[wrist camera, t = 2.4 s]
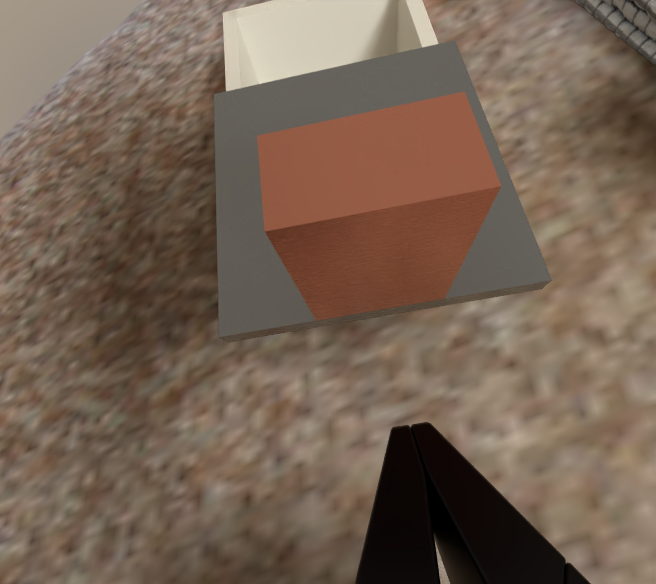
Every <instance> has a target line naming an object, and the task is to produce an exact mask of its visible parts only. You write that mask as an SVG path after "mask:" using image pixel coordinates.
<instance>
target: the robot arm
mask: <svg viewBox="0 0 656 584" xmlns="http://www.w3.org/2000/svg"><path fill="white" fill-rule="evenodd" d="M434 538H435V539H434ZM435 541H436V544H437V547H438V550H439V553H440V556H441V559H442V561H443V564H444V567H445V570H446V573H447V576H448V578H449V581H450V584H590V583H589V581H588V580H587V579H586V578H585V577H584V576H583V575H582V574H581V573H580V572H579V571H578V570H577V569H576V568H575V567H574V566H573V565H572V564H571V563H566V560H565V558H564V557H563V556H562V555H561V554H560V553H559V552H558V551H557V550H556V549H555V548H554V547H553V546H552V545H551V544H550V543H549V542H548V541H547V540H546V539H545V538H544V537H543V536H542V535H541V534H540V533H539V532H538V531H537V530H536V529H535V528H534V527H533V526H532V525H531V524H530V523H529V522H528V521H527V520H526V519H525V518H524V517H523V516H522V515H521V514H520V513H519V512H518V511H517V510H516V509H515V508H514V507H513V506H512V505H511V504H510V503H509V502H508V501H507V499H506V498H505V497H504V496H503V495H502V494H501V493H500V492H499V491H498V490H497V489H496V488H495V487H494V486H493V485H492V484H491V483H490V482H489V481H488V480H487V479H486V478H485V477H484V476H483V475H482V474H481V473H480V472H479V471H478V470H477V469H476V468H475V467H474V466H473V465H472V464H471V463H470V462H469V461H468V460H467V459H466V458H465V457H464V456H463V455H462V454H461V453H460V452H459V451H458V450H457V449H456V448H455V447H454V446H453V445H452V444H451V443H450V442H449V441H448V440H447V439H446V438H445V437H444V436H443V435H442V434H441V433H440V432H439V431H438V430H437V429H436V428H435V427H434V426H433V425H432V424H430V423H428V422H424V423H418V424H413V425H412V426H411V427H410V426H409V425H404V426H397V427H393V428H392V429H391V432H390V436H389V440H388V445H387V449H386V453H385V457H384V462H383V466H382V470H381V474H380V479H379V483H378V487H377V491H376V496H375V500H374V504H373V508H372V513H371V517H370V521H369V526H368V530H367V534H366V538H365V543H364V547H363V551H362V555H361V560H360V564H359V568H358V572H357V577H356V581H355V584H440V577H439V569H438V562H437V554H436V547H435Z"/></svg>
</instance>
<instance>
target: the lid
mask: <svg viewBox="0 0 656 584" xmlns="http://www.w3.org/2000/svg"><path fill="white" fill-rule="evenodd" d="M214 130H215V177H216V223H217V270H218V317H219V338H221V339H223V340H225V341H226V342H232V341H238V340H244V339H250V338H256V337H262V336H268V335H274V334H280V333H286V332H291V331H297V330H303V329H309V328H315V327H321V326H327V325H333V324H339V323H345V322H351V321H356V320H362V319H368V318H374V317H380V316H386V315H392V314H398V313H404V312H410V311H415V310H421V309H427V308H433V307H439V306H445V305H451V304H457V303H463V302H469V301H474V300H480V299H486V298H492V297H498V296H504V295H510V294H516V293H522V292H528V291H533V290H539V289H542V288H544V287H545V286H546V285H547V284H548V283H549V282H551V281H552V279H551V277H550V274H549V272H548V269H547V267H546V264H545V262H544V259H543V257H542V254H541V252H540V249H539V247H538V245H537V242H536V240H535V237H534V235H533V232H532V230H531V227H530V225H529V222H528V220H527V217H526V215H525V212H524V210H523V207H522V205H521V203H520V200H519V198H518V195H517V193H516V190H515V188H514V185H513V183H512V180H511V178H510V175H509V173H508V170H507V168H506V165H505V163H504V161H503V158H502V156H501V153H500V151H499V148H498V146H497V143H496V141H495V138H494V136H493V133H492V131H491V128H490V126H489V123H488V121H487V119H486V116H485V114H484V111H483V109H482V106H481V104H480V101H479V99H478V96H477V94H476V91H475V89H474V86H473V84H472V82H471V79H470V77H469V74H468V72H467V69H466V67H465V64H464V62H463V59H462V57H461V54H460V52H459V49H458V47H457V44H456V42H455V40H454V41H449V42H445V43H440V44H436V45H431V46H427V47H422V48H418V49H413V50H409V51H404V52H400V53H395V54H391V55H387V56H382V57H378V58H373V59H369V60H364V61H360V62H355V63H351V64H346V65H342V66H337V67H333V68H328V69H324V70H320V71H315V72H311V73H306V74H302V75H297V76H293V77H288V78H284V79H279V80H275V81H270V82H266V83H261V84H257V85H252V86H248V87H244V88H239V89H235V90H230V91H226V92H221V93H217V94H214Z"/></svg>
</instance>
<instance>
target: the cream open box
mask: <svg viewBox="0 0 656 584" xmlns="http://www.w3.org/2000/svg"><path fill="white" fill-rule="evenodd" d="M223 27H224V52H225V77H226V91H230V90H235V89H239V88H244V87H248V86H252V85H257V84H261V83H266V82H270V81H275V80H279V79H284V78H288V77H293V76H297V75H302V74H306V73H311V72H315V71H320V70H324V69H328V68H333V67H337V66H342V65H346V64H351V63H355V62H360V61H364V60H369V59H373V58H378V57H382V56H387V55H391V54H395V53H400V52H404V51H409V50H413V49H418V48H422V47H427V46H431V45H436V44H438V41H437V39H436V36H435V33H434V31H433V28H432V25H431V23H430V20H429V17H428V15H427V12H426V9H425V7H424V4H423V1H422V0H274V1H269V2H265V3H261V4H257V5H253V6H249V7H245V8H240V9H236V10H232V11H228V12H224V13H223Z"/></svg>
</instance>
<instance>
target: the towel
mask: <svg viewBox="0 0 656 584" xmlns="http://www.w3.org/2000/svg"><path fill="white" fill-rule="evenodd" d="M575 1H576V2H577V3H578V4H579V5H580V6H582V7H584V8H586V10H587V11H588V12H589V13H591V14H592V15H594V16H595V17H596V18H597V19H598V20H600V21H601V22H602V23H603V24H605V26H606V27H607V28H608V29H610V30H612V31H613V32H615V34H616V35H617V36H618V37H620V38H622V39H623V40H624V41H626V42H627V44H629V45H630V46H631V47H632V48H634V49H635V50H636V51H638V52H639V53H641V55H643V56H644V57H645V58H646V59H647V60H649V61H650V62H651V63H653V64H654V65H656V0H575Z"/></svg>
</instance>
